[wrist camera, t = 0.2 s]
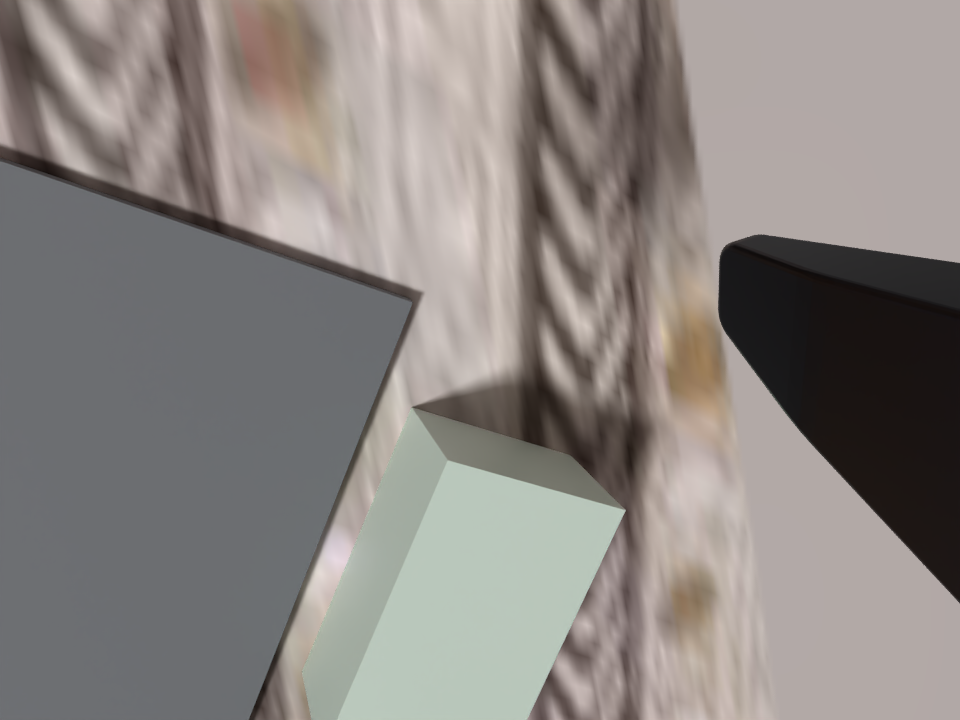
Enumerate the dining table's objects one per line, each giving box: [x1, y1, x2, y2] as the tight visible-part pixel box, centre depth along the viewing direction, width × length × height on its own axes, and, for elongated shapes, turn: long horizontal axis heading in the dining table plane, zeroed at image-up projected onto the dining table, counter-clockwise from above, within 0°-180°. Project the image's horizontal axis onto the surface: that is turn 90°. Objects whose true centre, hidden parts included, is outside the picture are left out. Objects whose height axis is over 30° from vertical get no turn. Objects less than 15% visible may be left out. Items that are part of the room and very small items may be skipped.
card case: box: [302, 407, 626, 720], centre depth 26 cm, size 9×6×4 cm, turn 156°
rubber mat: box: [0, 158, 413, 720], centre depth 24 cm, size 19×11×1 cm, turn 157°
